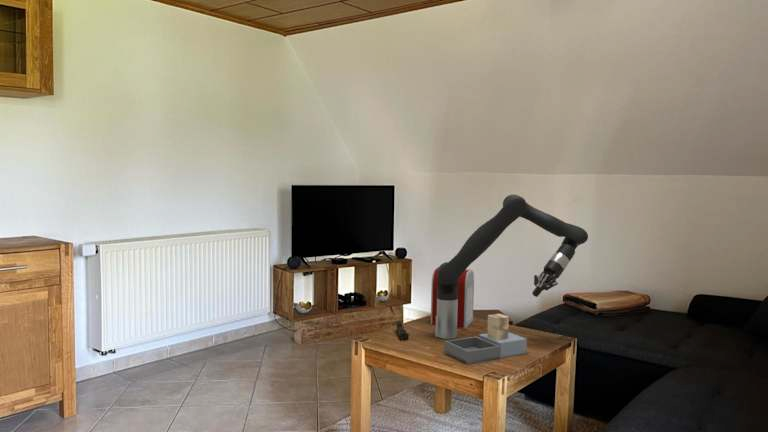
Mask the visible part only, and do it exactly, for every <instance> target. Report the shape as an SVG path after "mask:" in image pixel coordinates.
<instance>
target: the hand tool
mask: <svg viewBox="0 0 768 432" xmlns="http://www.w3.org/2000/svg"><path fill="white" fill-rule="evenodd" d="M403 326H404V325H403V323H402V322H401V321H396V333H397V334H398V337H399V340H407V341H408V340H409V336H410V334H409V333H408V332H407V330H405V328H404V327H403Z"/></svg>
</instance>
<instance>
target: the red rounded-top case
mask: <svg viewBox="0 0 768 432" xmlns="http://www.w3.org/2000/svg"><path fill="white" fill-rule="evenodd" d="M438 268H439V266H437V267H436V268H435V269H434V270H433V271H432V272H433V273H432V274H431V275H432V277H431V288H430V289H431V293H430V294H431V296H430V297H431V299H430V325H434V326H435V325H436V315H437V272H438ZM474 291H475V275H474V271H473V269H470V268H466V270H465V271H464V272H463V273H462V275H461V276H460V277H459V279H458V308H457V328H458V329H459V328H460V329H461V328H462V329H466V328H468V326H469V325H471V323H472V322H474V293H475V292H474Z"/></svg>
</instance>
